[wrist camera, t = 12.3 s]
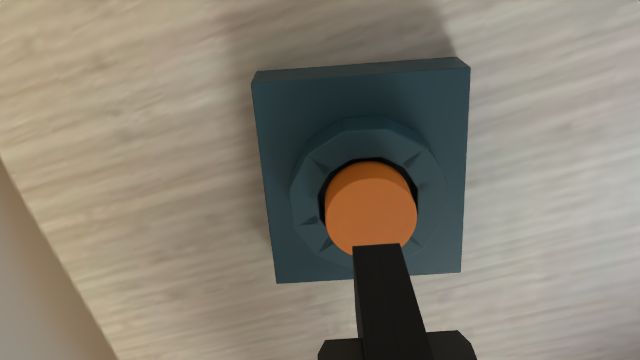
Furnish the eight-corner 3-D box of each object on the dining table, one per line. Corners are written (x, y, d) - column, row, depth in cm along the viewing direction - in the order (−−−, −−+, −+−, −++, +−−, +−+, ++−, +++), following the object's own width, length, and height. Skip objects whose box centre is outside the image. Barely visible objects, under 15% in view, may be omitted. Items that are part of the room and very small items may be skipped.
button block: (256, 71, 23) (244, 94, 19) (457, 56, 23) (484, 77, 19) (279, 259, 27) (273, 307, 24) (450, 248, 27) (471, 295, 23)
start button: (321, 163, 21) (322, 181, 19) (410, 157, 21) (417, 174, 19) (327, 239, 23) (328, 261, 21) (409, 234, 22) (416, 255, 21)
